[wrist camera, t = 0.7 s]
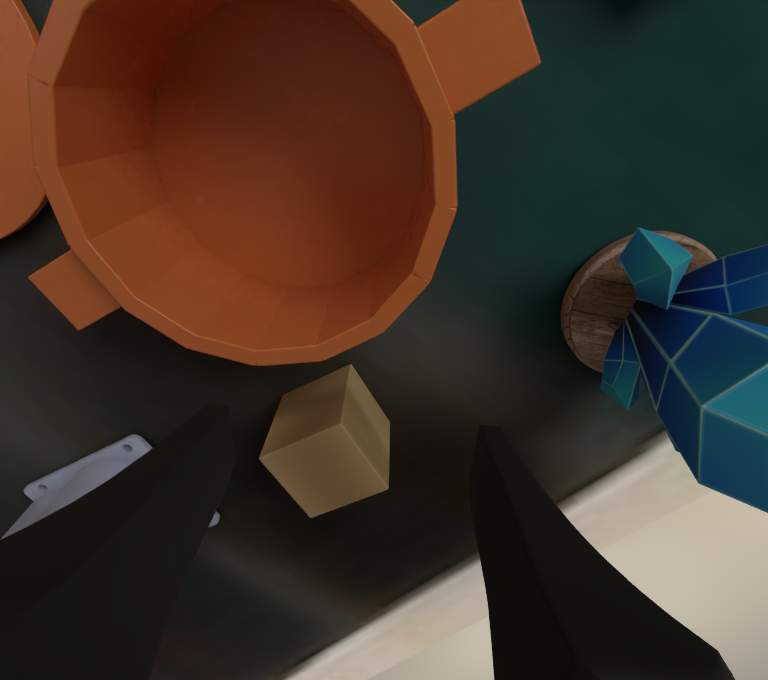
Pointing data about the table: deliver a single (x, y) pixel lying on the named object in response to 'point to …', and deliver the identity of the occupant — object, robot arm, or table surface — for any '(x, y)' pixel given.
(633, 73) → the table surface
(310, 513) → the block
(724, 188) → the table surface
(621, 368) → the gemstone
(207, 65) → the pot
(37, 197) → the lid
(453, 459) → the table surface
